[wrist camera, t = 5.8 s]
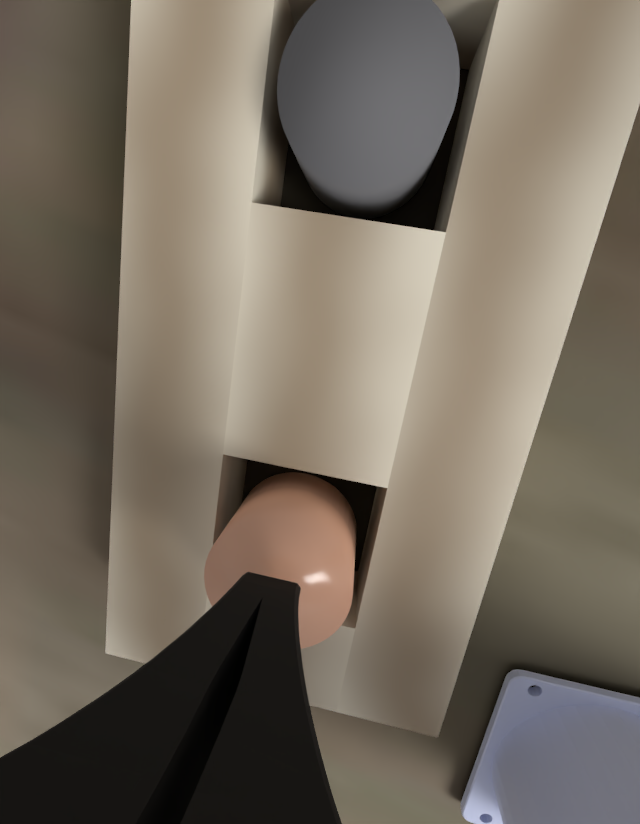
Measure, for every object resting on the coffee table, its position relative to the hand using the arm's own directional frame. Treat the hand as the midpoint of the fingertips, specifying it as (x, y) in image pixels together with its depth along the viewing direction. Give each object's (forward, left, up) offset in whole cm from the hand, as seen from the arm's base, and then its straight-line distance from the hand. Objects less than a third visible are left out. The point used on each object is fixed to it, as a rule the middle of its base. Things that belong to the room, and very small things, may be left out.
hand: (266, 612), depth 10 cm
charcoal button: (0, -12, -5) cm, 13 cm away
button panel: (0, -6, -6) cm, 8 cm away
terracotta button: (0, 0, -4) cm, 4 cm away
